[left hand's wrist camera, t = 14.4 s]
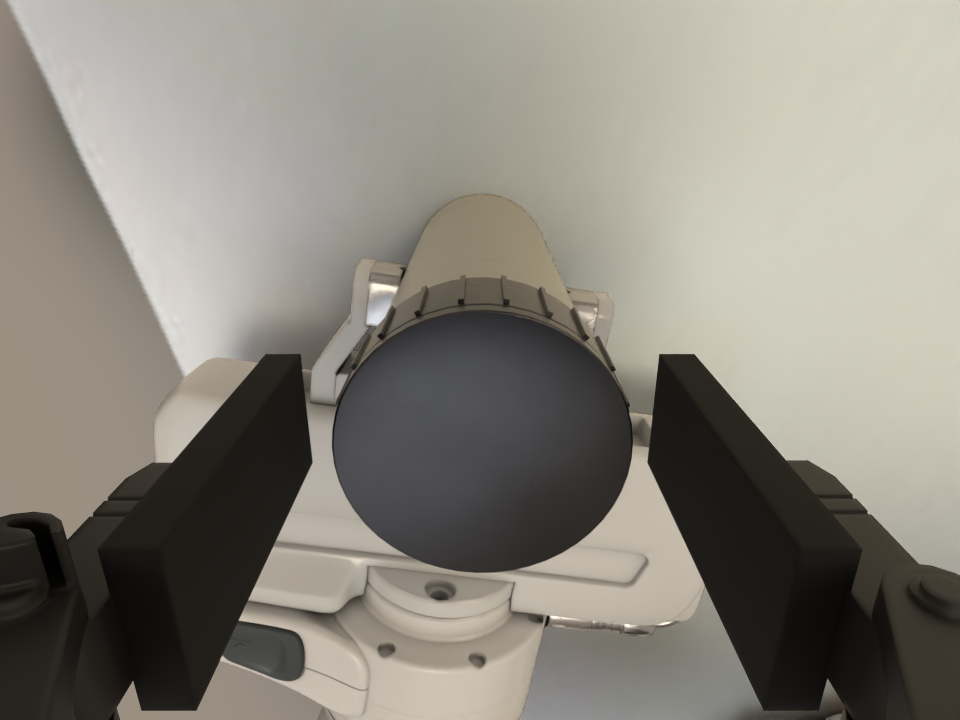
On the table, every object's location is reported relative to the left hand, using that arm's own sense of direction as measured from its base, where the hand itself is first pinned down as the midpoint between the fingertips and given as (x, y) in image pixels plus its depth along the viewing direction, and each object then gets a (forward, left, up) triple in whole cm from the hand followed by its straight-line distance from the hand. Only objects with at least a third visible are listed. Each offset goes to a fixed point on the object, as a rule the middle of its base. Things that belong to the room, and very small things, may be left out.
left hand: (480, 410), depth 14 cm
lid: (0, 0, +2) cm, 2 cm away
